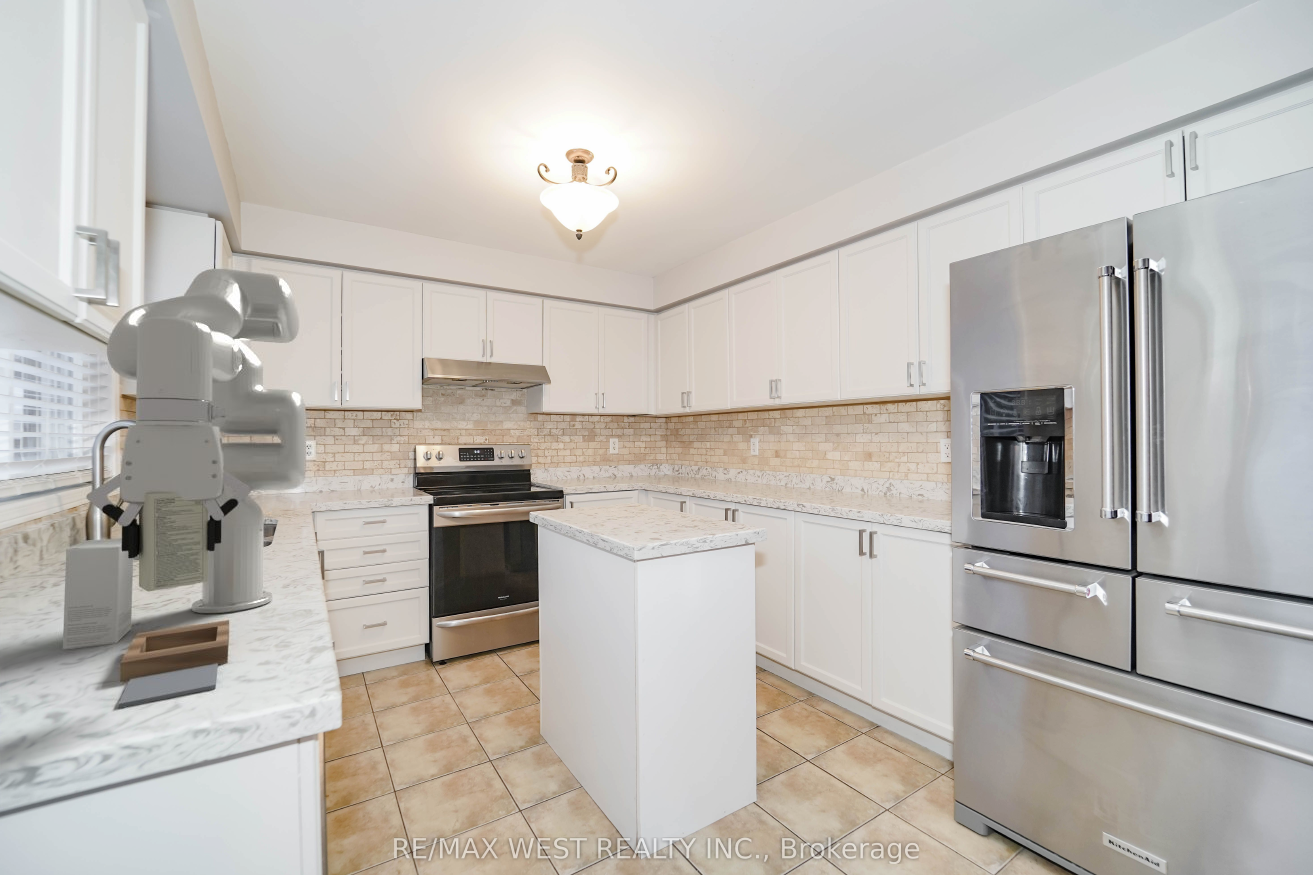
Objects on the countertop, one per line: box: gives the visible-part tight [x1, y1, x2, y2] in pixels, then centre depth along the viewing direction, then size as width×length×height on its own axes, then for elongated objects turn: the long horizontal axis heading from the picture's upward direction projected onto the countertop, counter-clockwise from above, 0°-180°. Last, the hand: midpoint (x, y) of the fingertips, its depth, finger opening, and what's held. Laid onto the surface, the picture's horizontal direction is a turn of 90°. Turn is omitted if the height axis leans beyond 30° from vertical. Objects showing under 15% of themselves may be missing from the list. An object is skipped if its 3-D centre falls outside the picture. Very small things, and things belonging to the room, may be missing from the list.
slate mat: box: [117, 663, 219, 709], centre depth 73 cm, size 9×9×1 cm
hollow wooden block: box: [119, 619, 230, 683], centre depth 83 cm, size 15×11×2 cm
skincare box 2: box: [138, 493, 208, 592], centre depth 73 cm, size 6×4×12 cm
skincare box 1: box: [62, 537, 134, 651], centre depth 91 cm, size 8×7×16 cm
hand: (173, 551), depth 73 cm, fingers closed on skincare box 2, 7 cm apart
